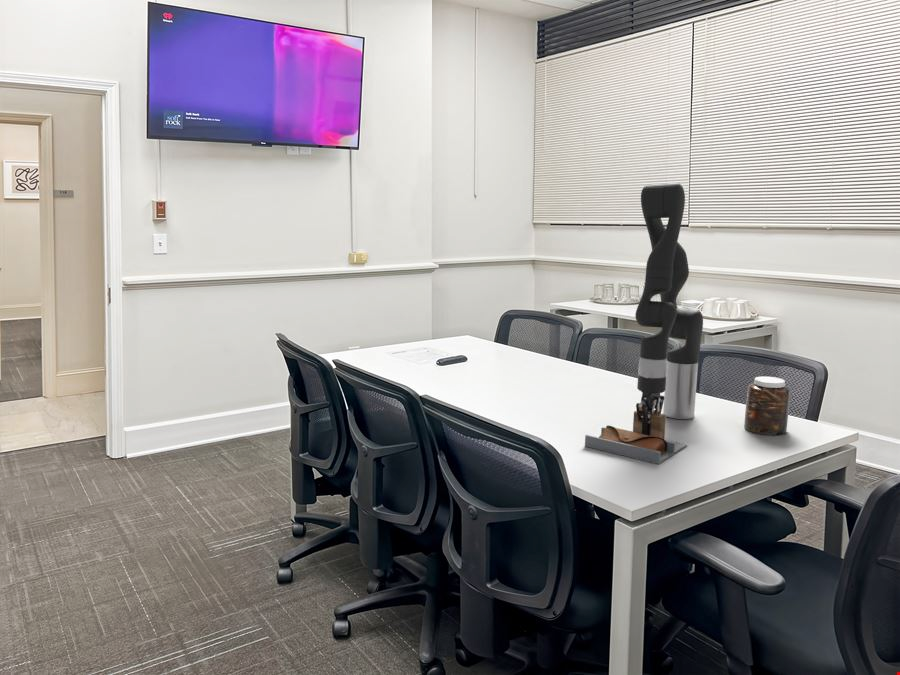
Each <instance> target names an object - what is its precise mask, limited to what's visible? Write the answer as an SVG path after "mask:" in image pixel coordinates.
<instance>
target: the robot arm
mask: <svg viewBox="0 0 900 675" xmlns="http://www.w3.org/2000/svg"><path fill="white" fill-rule="evenodd" d="M685 194H686V193H685V189H684V187H683V185H682V184H681V183H680V182H669V183H656V184H648V185H645V186H643V187H642V189H641V193H640V204H641V205H640V206H641V211H642V215H643V219H644V222H645V226H646V229H647V232H648V237H649V240H650V245H651V246H650V247H651V251H650V254H649V256H648V258H647V261H646V267H645V278H644V279H645V281H644V286H643V291H642V295H641V297H640V301H639V302H638V305H637V307H636V309H635V310H636V311H635V321H636V323H638V325H639V326H640V327H644V328H646V327H647V328H659V329H660V328H661V330H660V331H659V332H658V333H655V334H654V333H653V334H648V335H645V336H642V338H641V340H640V351H639V352H640V355H639V360H638V367H637V368H638V370H637V372H638V373H637V388H636V389H638V391H640V392H641V393H642V394H641V399H640V402H636V405H635V408H636V411H637V416H638V421H639V422H642V434H644V435H648V436H650V428H651V417H652V415H654V413H659V414H664V415H666V418H671V419H677V420H690V419H693V418H695V412H696V411H695V410H696V409H695V408H696V396H697V395H696V394H697V382H698V368H699V358H700V357H699V356H700V352H701V343H702V335H703V329H704V328H703V326H704V317H703V314H702V312H701V311H699V310H696V309H689V308H688V309H687V308H679V307H678V306H677V297H678V295H679V293H680V292H681V291H682V289H683V287H684V286H685V284H686V282H687V280H688V279H689V274H690V269H689V262H688V256H687V253H686V250H685V249H684V247H683V246H682V244H680V243H679V236H680V232H681V228H682V222H683V216H684V211H685V206H686V195H685ZM664 218H665V219H666V218H667V219H668V221H667V224H666V227H665V225H664V224H663V221H662V219H664ZM657 295H660V301H659V300H657V301H655V300H652V298H653V297H654V296H657ZM670 338H672V339H679V340H683V341H685V343H684V345H683V346H682V347H678V348H673V349H670V350H668V345H669V339H670ZM662 393H663V394H664V395H661V394H662ZM662 410H663V412H662ZM647 411H648V412H647Z"/></svg>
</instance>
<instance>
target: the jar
mask: <svg viewBox="0 0 900 675" xmlns="http://www.w3.org/2000/svg"><path fill="white" fill-rule="evenodd" d="M785 383H786V381H785V380H784V379H783V378H780V377H775V376H756V377H754V381H753V383H752V382H751V383H750V384H749V385H748V387H747V393H746V403H745V412H744V413H745V414H744V423H743V425H744V426H743V427H744V429H745V430H746V431H748V432H750V433H753V434H758V435H763V436H781V435H785V434H786V433H787V430H788V422H789V421H788V420H789V410H790V398H791V389H790V388H789V387H787V386H786V384H785Z"/></svg>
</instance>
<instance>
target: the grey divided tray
mask: <svg viewBox="0 0 900 675" xmlns="http://www.w3.org/2000/svg"><path fill="white" fill-rule="evenodd" d="M647 412H648V411H647ZM666 418H667V416H666V415H664V414H663V413H661V414H659V413H654V415H652V417H651V428H650V436H655V437H660V438H662V439H664V440H665V441H666V443H667V450H666V453H664V454H662V455H661V452H659V451H655V450H650V449H646V448H641V447H637V446H633V445H628V444H624V443H620V442H615V441H611V440H607V439H602V438H599V437H597V436H593V435H589V434H585V435H584V437H585V438H584V447H586V446H587V448H589V449H590V448H591V449H596V450H599V451H603V452H608V453H611V454H616V455H620V456H624V457H628V458H632V459H637V460H641V461H645V462H649V463H652V464H658V465H660V464H661V463H663V462H665V461H666V460H667V459H669V458H671V457H672V456H673V455H676V454H677V453H679V452H680V451H681V450H683V449H685V448H687V446H688V444H687V443H684V442H683V443H682V442H679V441H673V440H670V439H665V433H666ZM605 428H606V427H603V426H602V427H601V431H600V432H601V433H600V435H601V434H602V432H603V431H604V430H605ZM632 432H636V433H640V434H642V422H639V421H638V416H637V410H634V411H633V424H632Z"/></svg>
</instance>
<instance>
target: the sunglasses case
mask: <svg viewBox="0 0 900 675" xmlns="http://www.w3.org/2000/svg"><path fill="white" fill-rule="evenodd" d="M604 428H605V430H604V431H603V432H602V434H601V433H600V435H599V437H598V438H602V439H607V440H611V441H615V442H620V443H624V444H628V445H633V446H637V447H641V448H646V449H650V450H655V451H659V452H661V455H662V454H664V453H666V450H667V443H666V441H665V440H666V439H665V438H664V439H665V440H664V439H662V438H660V437H655V436H648V435H644V434H640V433H636V432H633V430H632V431H630V430H626V429H622V428H617V427H614V426H612V425H608V424H607V425H606V427H604Z"/></svg>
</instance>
